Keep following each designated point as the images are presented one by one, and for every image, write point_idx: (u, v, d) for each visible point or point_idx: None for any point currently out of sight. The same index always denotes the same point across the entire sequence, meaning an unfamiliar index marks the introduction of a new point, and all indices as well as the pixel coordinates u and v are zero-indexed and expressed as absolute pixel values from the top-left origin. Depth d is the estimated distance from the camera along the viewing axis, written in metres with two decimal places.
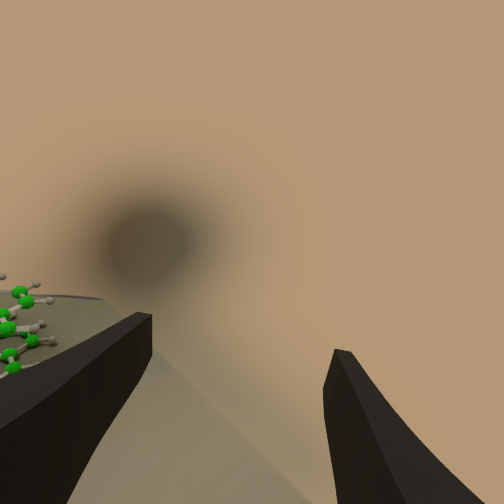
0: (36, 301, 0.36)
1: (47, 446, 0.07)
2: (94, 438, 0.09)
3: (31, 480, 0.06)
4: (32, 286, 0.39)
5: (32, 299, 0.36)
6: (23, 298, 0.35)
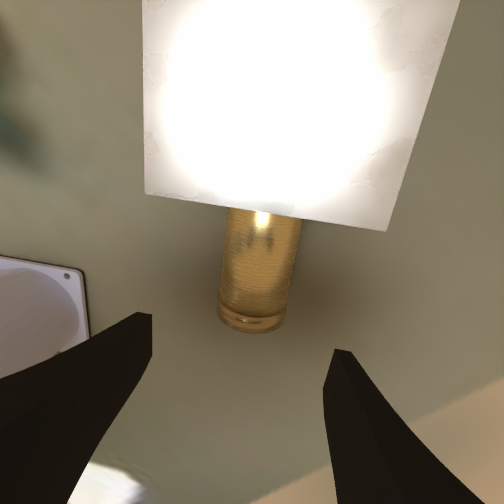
0: None
1: (47, 446, 0.07)
2: (94, 438, 0.09)
3: (31, 480, 0.06)
4: None
5: None
6: None
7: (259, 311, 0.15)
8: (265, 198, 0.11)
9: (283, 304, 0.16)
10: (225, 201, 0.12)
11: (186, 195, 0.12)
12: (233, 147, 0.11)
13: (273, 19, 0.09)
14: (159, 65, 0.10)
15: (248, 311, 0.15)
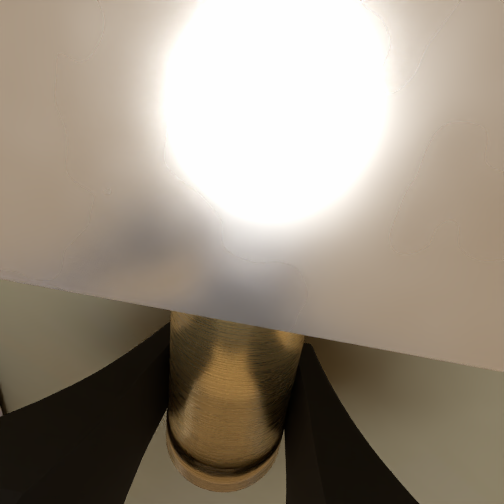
0: None
1: (108, 460, 0.06)
2: (141, 448, 0.08)
3: (95, 495, 0.06)
4: None
5: None
6: None
7: (233, 460, 0.08)
8: (227, 289, 0.04)
9: (279, 432, 0.09)
10: (128, 292, 0.05)
11: (34, 274, 0.05)
12: (131, 157, 0.04)
13: None
14: None
15: (213, 459, 0.08)
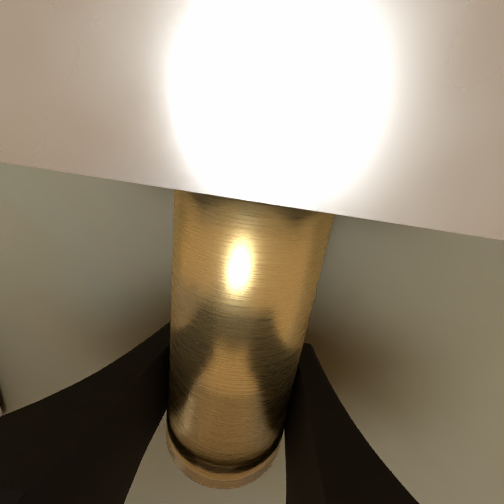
0: None
1: (108, 460, 0.06)
2: (141, 448, 0.08)
3: (95, 495, 0.06)
4: None
5: None
6: None
7: (233, 455, 0.08)
8: (242, 154, 0.04)
9: (280, 428, 0.09)
10: (123, 166, 0.04)
11: (12, 149, 0.04)
12: None
13: None
14: None
15: (213, 455, 0.08)
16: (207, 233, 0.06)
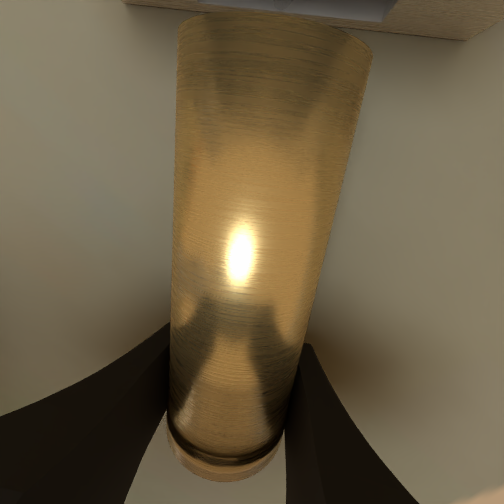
0: None
1: (108, 460, 0.06)
2: (141, 448, 0.08)
3: (95, 495, 0.06)
4: None
5: None
6: None
7: (235, 448, 0.08)
8: None
9: (281, 421, 0.09)
10: None
11: None
12: None
13: None
14: None
15: (214, 448, 0.08)
16: (208, 218, 0.06)
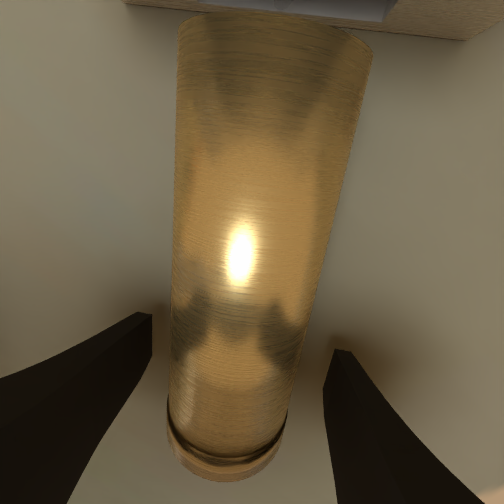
0: None
1: (47, 446, 0.07)
2: (94, 438, 0.09)
3: (31, 480, 0.06)
4: None
5: None
6: None
7: (235, 448, 0.08)
8: None
9: (282, 421, 0.09)
10: None
11: None
12: None
13: None
14: None
15: (214, 448, 0.08)
16: (209, 218, 0.06)
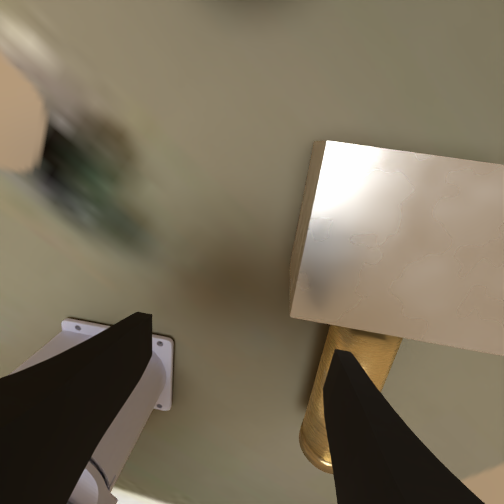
0: None
1: (47, 446, 0.07)
2: (94, 438, 0.09)
3: (31, 480, 0.06)
4: None
5: None
6: None
7: None
8: (400, 326, 0.13)
9: None
10: (363, 326, 0.13)
11: (327, 320, 0.14)
12: (378, 288, 0.13)
13: (433, 200, 0.11)
14: (323, 226, 0.12)
15: None
16: None
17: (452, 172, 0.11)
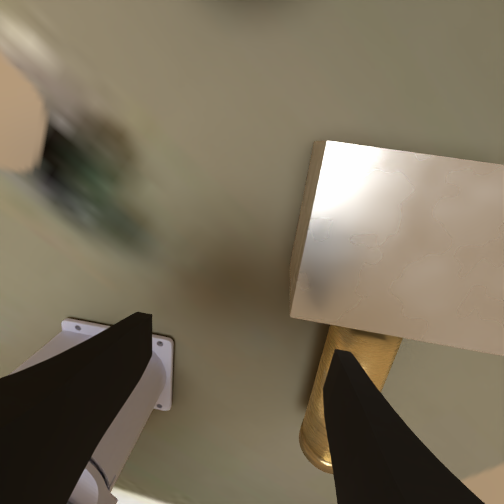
0: None
1: (47, 446, 0.07)
2: (94, 438, 0.09)
3: (31, 480, 0.06)
4: None
5: None
6: None
7: None
8: (400, 326, 0.13)
9: None
10: (363, 326, 0.13)
11: (327, 320, 0.14)
12: (378, 288, 0.13)
13: (433, 200, 0.11)
14: (323, 226, 0.12)
15: None
16: None
17: (452, 172, 0.11)
